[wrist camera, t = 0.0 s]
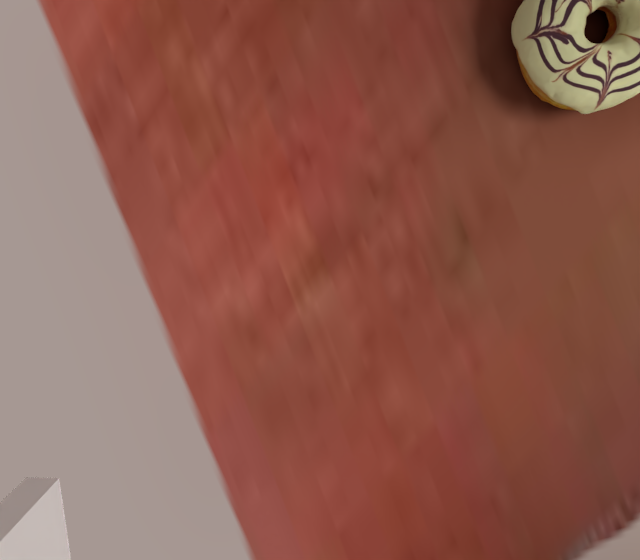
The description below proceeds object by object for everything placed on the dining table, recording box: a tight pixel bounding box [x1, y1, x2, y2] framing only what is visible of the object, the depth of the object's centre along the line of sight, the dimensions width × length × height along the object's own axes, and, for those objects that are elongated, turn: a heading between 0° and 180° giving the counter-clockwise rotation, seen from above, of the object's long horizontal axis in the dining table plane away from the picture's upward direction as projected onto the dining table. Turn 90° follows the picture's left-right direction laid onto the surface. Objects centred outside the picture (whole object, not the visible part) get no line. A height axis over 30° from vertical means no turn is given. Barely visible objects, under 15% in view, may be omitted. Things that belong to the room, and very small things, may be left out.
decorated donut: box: [511, 0, 640, 114], centre depth 32 cm, size 10×11×4 cm
